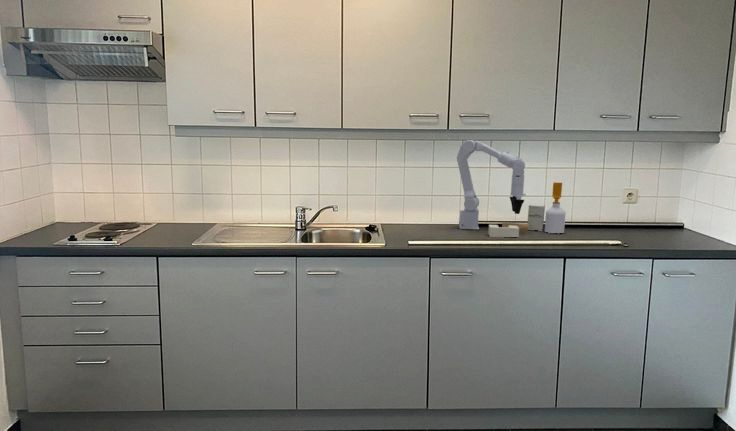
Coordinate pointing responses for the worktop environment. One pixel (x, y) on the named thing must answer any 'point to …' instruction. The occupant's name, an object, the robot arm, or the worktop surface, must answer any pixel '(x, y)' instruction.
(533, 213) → the supplement box
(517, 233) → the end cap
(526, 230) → the slat
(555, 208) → the soap bottle
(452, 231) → the worktop surface
